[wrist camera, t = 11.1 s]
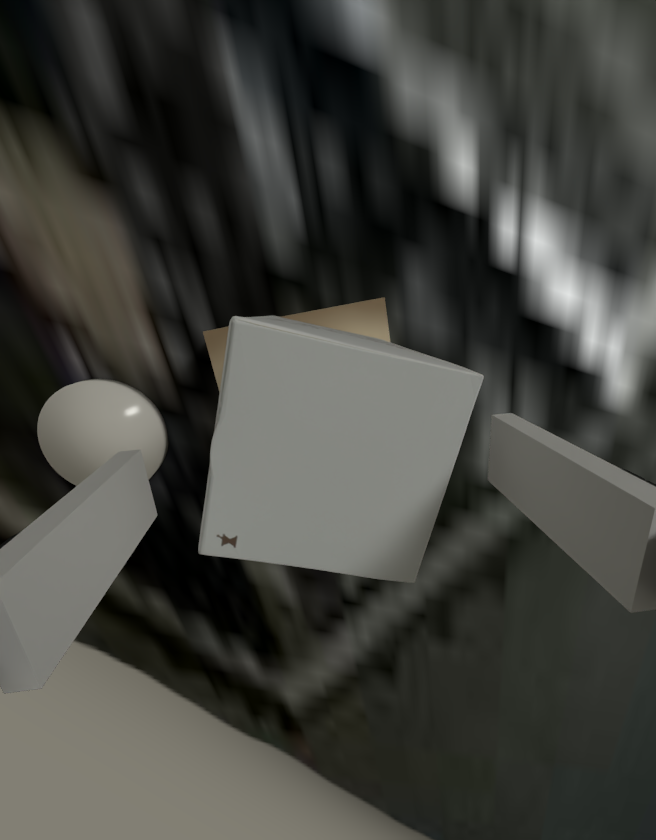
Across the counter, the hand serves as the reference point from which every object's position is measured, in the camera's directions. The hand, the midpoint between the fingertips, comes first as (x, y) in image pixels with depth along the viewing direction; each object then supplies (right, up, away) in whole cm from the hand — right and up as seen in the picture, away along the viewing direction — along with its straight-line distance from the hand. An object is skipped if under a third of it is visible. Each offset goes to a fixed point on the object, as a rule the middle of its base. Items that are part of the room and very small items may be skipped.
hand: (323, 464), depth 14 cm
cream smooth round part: (-19, 0, +18) cm, 26 cm away
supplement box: (-1, +4, +14) cm, 14 cm away
